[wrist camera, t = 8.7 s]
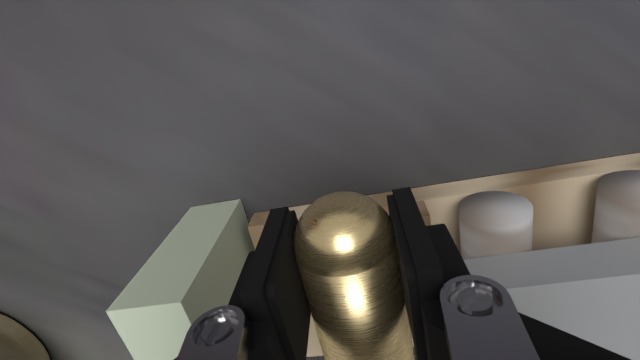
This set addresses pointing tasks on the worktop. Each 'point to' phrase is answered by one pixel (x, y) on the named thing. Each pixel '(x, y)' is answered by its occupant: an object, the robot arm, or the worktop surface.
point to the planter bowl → (19, 342)
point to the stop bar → (183, 280)
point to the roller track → (535, 185)
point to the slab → (576, 289)
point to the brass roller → (353, 278)
